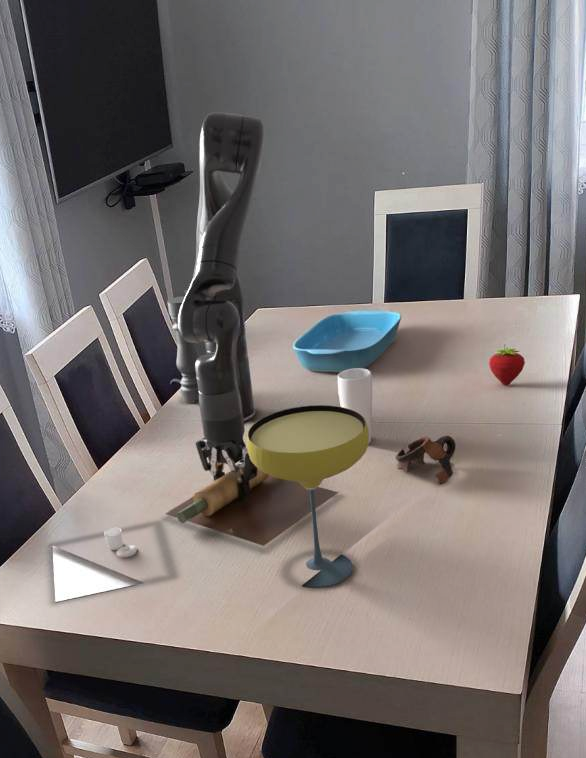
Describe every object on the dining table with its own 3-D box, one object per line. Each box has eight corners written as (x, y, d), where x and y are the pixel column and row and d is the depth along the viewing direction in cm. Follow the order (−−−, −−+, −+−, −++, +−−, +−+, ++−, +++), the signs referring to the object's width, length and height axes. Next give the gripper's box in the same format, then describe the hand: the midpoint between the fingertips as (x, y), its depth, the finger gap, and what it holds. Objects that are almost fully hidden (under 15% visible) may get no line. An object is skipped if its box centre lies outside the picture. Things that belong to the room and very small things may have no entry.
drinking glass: (374, 448, 178) (371, 378, 170) (340, 450, 179) (336, 381, 172) (375, 434, 183) (371, 366, 176) (342, 436, 185) (338, 369, 178)
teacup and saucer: (142, 559, 153) (138, 539, 151) (97, 568, 152) (93, 549, 150) (136, 536, 161) (132, 517, 159) (94, 545, 160) (89, 526, 158)
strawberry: (520, 391, 191) (522, 347, 186) (485, 389, 195) (486, 346, 190) (526, 381, 195) (528, 338, 190) (492, 380, 199) (493, 337, 194)
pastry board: (166, 519, 165) (165, 513, 164) (241, 472, 177) (240, 467, 177) (264, 551, 149) (263, 545, 148) (338, 497, 162) (338, 491, 161)
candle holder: (178, 403, 217) (162, 304, 205) (187, 394, 222) (172, 296, 210) (201, 403, 215) (186, 303, 202) (210, 394, 219) (195, 295, 207)
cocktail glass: (265, 545, 151) (248, 411, 139) (371, 537, 148) (363, 399, 135) (261, 604, 135) (242, 459, 123) (380, 597, 132) (372, 447, 120)
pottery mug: (434, 494, 158) (410, 456, 157) (404, 498, 167) (381, 463, 166) (477, 456, 162) (454, 419, 160) (445, 462, 171) (423, 427, 169)
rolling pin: (173, 526, 159) (169, 502, 157) (269, 465, 175) (266, 442, 173) (193, 533, 156) (188, 508, 153) (289, 470, 172) (286, 447, 169)
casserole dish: (333, 332, 248) (331, 307, 244) (411, 332, 237) (410, 306, 233) (283, 379, 221) (280, 351, 217) (368, 381, 210) (367, 353, 206)
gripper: (265, 409, 154) (274, 494, 163) (206, 398, 164) (218, 478, 172) (237, 425, 150) (249, 511, 158) (178, 412, 159) (192, 494, 168)
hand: (232, 494), depth 165 cm, fingers closed on rolling pin, 5 cm apart
